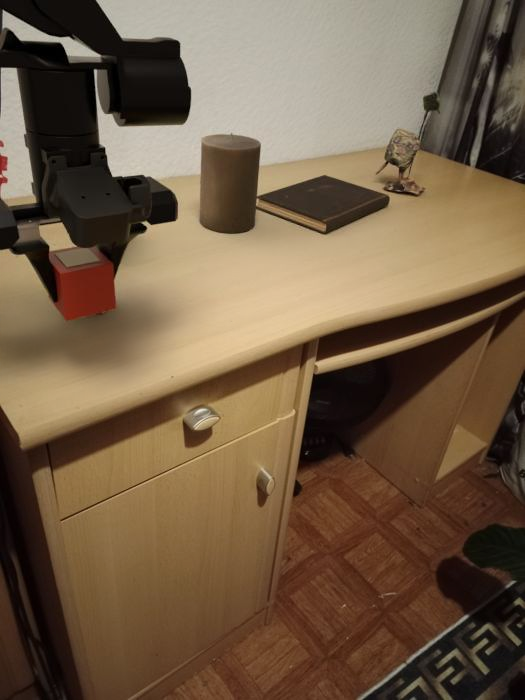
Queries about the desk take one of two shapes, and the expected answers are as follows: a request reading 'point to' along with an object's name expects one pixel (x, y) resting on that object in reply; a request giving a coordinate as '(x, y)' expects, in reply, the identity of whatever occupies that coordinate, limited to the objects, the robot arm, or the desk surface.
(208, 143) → the pillar candle
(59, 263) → the red block
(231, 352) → the desk surface
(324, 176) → the hardcover book
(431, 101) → the mottled figurine
